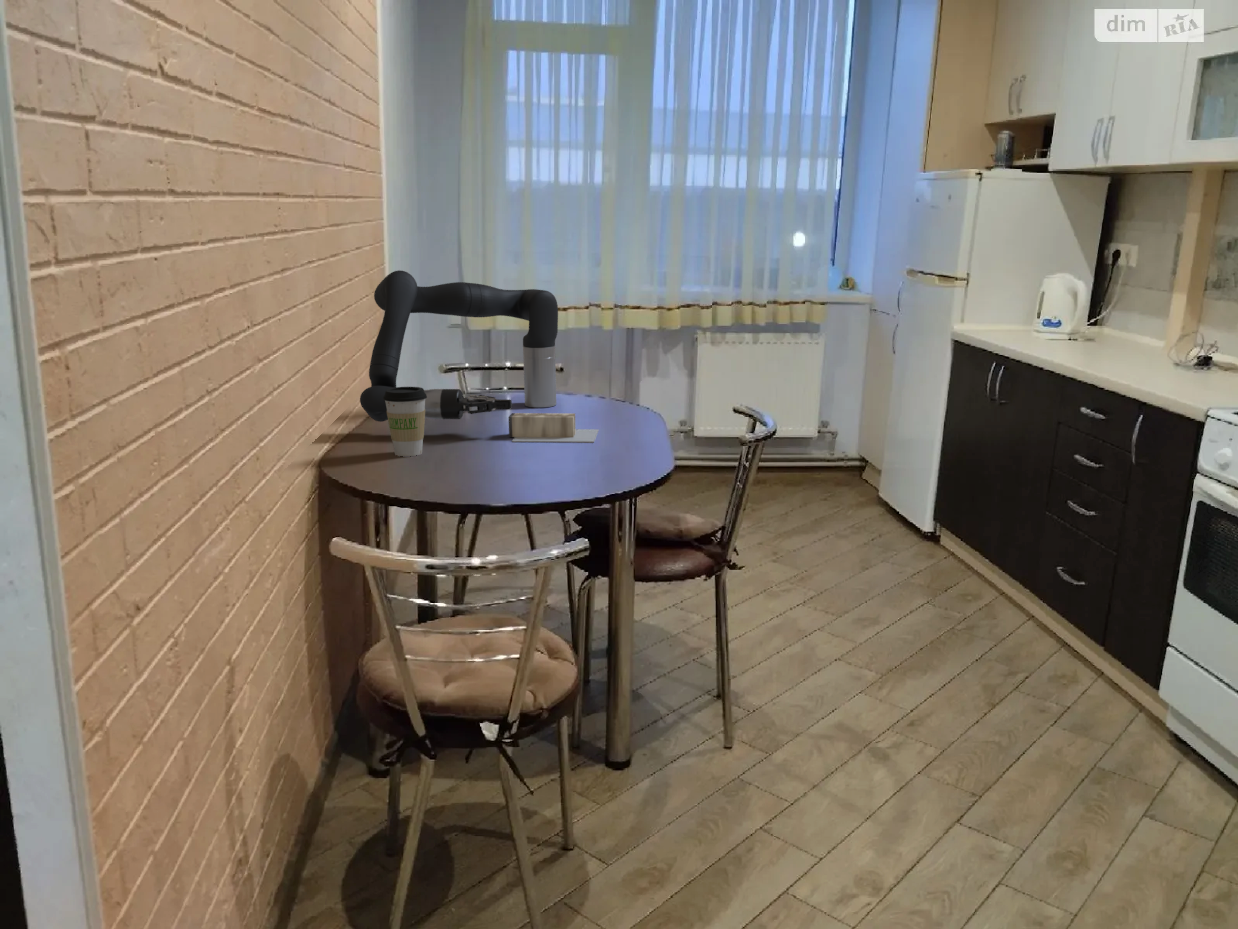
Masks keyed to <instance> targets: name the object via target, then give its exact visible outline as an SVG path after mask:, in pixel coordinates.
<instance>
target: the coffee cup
mask: <svg viewBox="0 0 1238 929" xmlns="http://www.w3.org/2000/svg"><path fill="white" fill-rule="evenodd" d="M424 390H425V389H424V388H423V387H421V386H420V387H419V386H399V387H398V386H396V388H390V389H387V390H386V391H385V395H384V396H383V397H384V398H383V400H385V402H386V408H387V411H386V412H387V417H388V420H387V421H388V427H389V432H390V438H391V441H392V446H393V450H394V456H396V455H398V456H397V457H400V456H403V457H404V458H405V457H406V458H407V457H409V458H410V456H411V457H417V456H420V455H422V454H423V447H424V446H423V443H424V442H423V440H424V437H425V421H426V420H425V419H426V418H425V399H426V398H427V396H426V393H425V392H424ZM416 455H417V456H416ZM403 457H402V458H403Z"/></svg>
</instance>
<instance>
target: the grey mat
mask: <svg viewBox="0 0 1238 929" xmlns="http://www.w3.org/2000/svg"><path fill="white" fill-rule="evenodd" d="M575 429H576V433H575V435H574V437H513V439H512V440H511V442H512V443H581V444H582V443H585V444H586V443H587V444H588V443H590V444H591V443H595V441H596V439H597V436H598V434H599V432H600V429H593V428H592V429H591V428H589V429H585V428H583V429H582V428H580V429H579V428H578V429H577V428H575Z"/></svg>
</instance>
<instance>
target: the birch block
mask: <svg viewBox="0 0 1238 929" xmlns="http://www.w3.org/2000/svg"><path fill="white" fill-rule="evenodd" d="M576 429H577V428H576V413H573V412H572V413H571V412H570V413H565V412H564V413H561V412H559V413H557V412H556V413H553V412H552V413H550V412H549V413H548V412H547V413H546V412H543V413H542V412H541V413H540V412H537V413H536V412H532V413H531V412H529V413H528V412H525V413H524V412H511V414H510V415H509V416H508V437H509V438H515V437H574V435H575V433H576Z"/></svg>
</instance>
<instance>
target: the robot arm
mask: <svg viewBox="0 0 1238 929" xmlns="http://www.w3.org/2000/svg"><path fill="white" fill-rule="evenodd" d="M374 290H375V291H374V292H373V293H374V294H373V298H374V302H375V304H376V305H377V306H378V307H379V308H380V309H381V310H382V311H384V312H383V313H384V314H383V318H382V322H381V325H380V329H379V331H378V334H377V337H376V338H375V342H374V345H373V348H372V352H371V358H370V362H369V369H368V377H369V380H370V384H371V386H369V387H367V388H366V389H364V390H363V391H362V392H361V394H360V398H359V402H360V406H361V407H362V409H363V410H364V411H365V413H367V415H368V416H369V417H370V418H371V419H372V420H374V421H376V422H380V423H381V422H386V421H388V417H387V412H386V411H387V408H386V402H385V400H383V398H384V397H383V396H384V395H385V391H386V390H387V389H390V388H396V387H397V376H398V371H399V366H400V359H401V354H402V347H403V343H404V338H405V334H406V329H407V325H408V322H409V318H410V315H411V314H422V313H424V314H435V315H444V316H445V315H446V316H456V317H465V318H488V317H489V318H490V317H491V318H492V317H497V316H501V317H502V316H504V317H511V318H516V319H521V320H525V321H528V332H527V333H526V334H525V335H524V336H523V338H522V357H523V360H522V361H523V383H524V384H523V386H524V388H523V389H524V390H523V392H524V394H523V395H524V406H526V407H527V408H528V407H529V408H549V407H550V408H551V407H554V406H556V405H557V375H556V374H557V370H556V367H557V366H556V339H557V336H558V330H559V329H558V328H559V326H558V325H559V308H558V307H559V306H558V302H557V298H556V297H555V295H554V294H553V293H552V292H550V291H548V290H544V289H537V288H536V289H535V288H534V289H533V288H532V289H531V288H530V289H501V288H498V287H494V286H491V285H486V284H481V283H476V282H475V283H474V282H465V281H464V282H463V281H456V282H448V283H442V284H441V283H440V284H437V285H432V286H430V285H429V286H418V282H417V281H416V279H415V278H414V276H413V275H412V274H410V273H409V272H407V271H405V270H400V269H399V270H394V271H392V272H391V273H389V274H387V275H386V276H385V277H384V278H383V279H382V280H381V282H379V284H377V286H376V288H375V289H374ZM424 392H425V393H426V396H427V398H426V399H425V419H432V420H461V419H462V417H463V415H464V412H467V413H468V414H470V415H473V414H482V413H490V412H492V411H496V410H510V409H512V406H513V403H512V399H497V398H496V396H489V395H488V396H487V395H483V394H479V395H476V394H475V395H474V394H470V395H469V396H468V397H464V395H463V394H464V392H463V391H462V389H460V388H459V389H458V388H431V389H430V388H429V389H424Z"/></svg>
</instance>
